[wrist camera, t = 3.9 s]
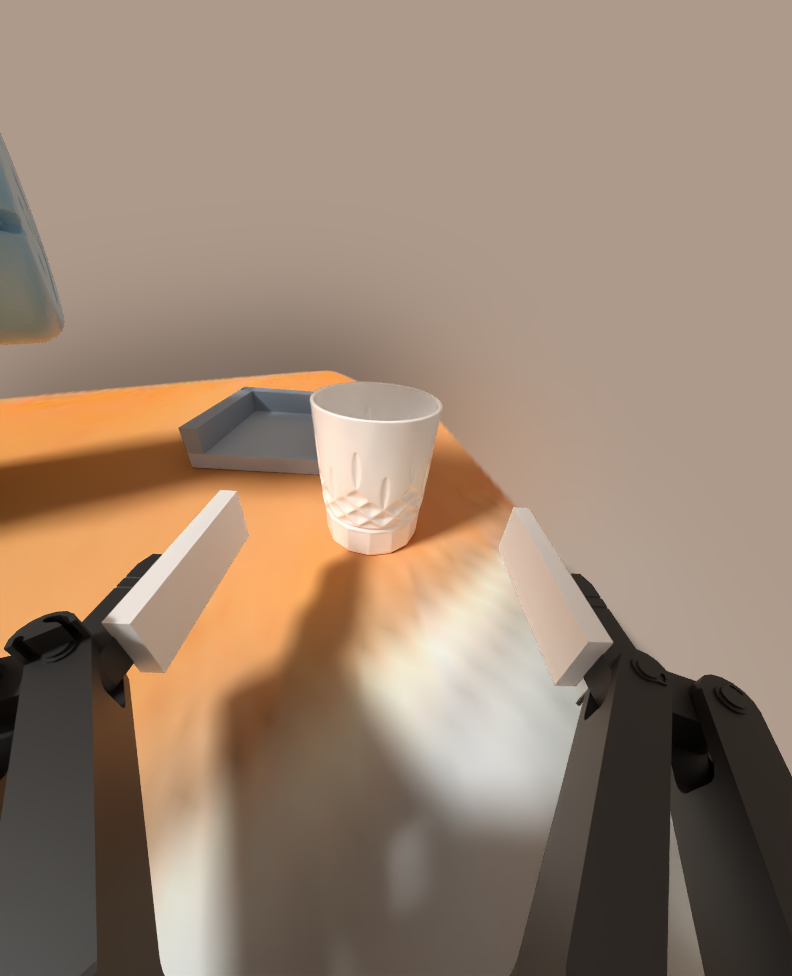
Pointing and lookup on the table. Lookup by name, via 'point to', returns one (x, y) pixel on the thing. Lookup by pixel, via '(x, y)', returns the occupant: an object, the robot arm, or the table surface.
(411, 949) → the table surface
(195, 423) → the dock
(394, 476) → the white cup
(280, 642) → the table surface
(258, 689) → the table surface
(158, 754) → the table surface
